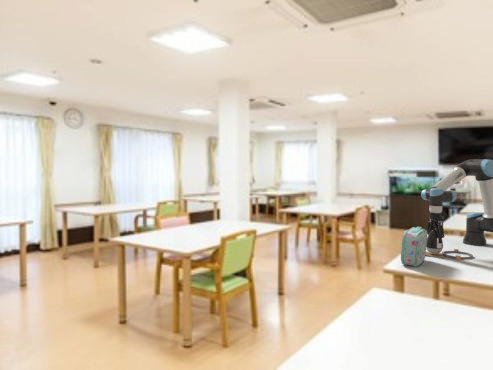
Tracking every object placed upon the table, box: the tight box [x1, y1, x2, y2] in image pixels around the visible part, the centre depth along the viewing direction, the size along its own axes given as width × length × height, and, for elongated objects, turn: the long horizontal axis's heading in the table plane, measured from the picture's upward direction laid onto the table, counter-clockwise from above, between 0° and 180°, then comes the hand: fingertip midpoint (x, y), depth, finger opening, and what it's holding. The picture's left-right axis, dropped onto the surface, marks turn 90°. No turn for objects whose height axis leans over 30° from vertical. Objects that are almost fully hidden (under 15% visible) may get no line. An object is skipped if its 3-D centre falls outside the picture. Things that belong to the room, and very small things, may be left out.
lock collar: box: [441, 248, 474, 261], centre depth 254 cm, size 22×18×2 cm
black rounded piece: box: [426, 228, 444, 253], centre depth 254 cm, size 10×10×15 cm
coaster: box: [425, 251, 445, 259], centre depth 255 cm, size 11×11×1 cm
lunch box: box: [400, 226, 428, 268], centre depth 235 cm, size 27×10×21 cm, turn 145°
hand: (434, 246), depth 255 cm, fingers closed on black rounded piece, 10 cm apart
